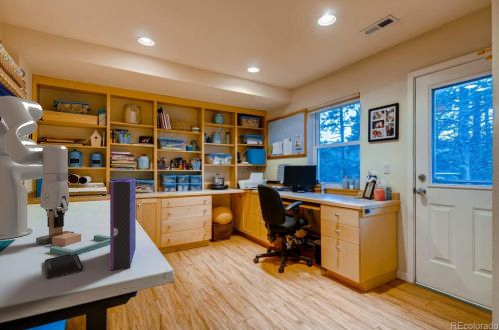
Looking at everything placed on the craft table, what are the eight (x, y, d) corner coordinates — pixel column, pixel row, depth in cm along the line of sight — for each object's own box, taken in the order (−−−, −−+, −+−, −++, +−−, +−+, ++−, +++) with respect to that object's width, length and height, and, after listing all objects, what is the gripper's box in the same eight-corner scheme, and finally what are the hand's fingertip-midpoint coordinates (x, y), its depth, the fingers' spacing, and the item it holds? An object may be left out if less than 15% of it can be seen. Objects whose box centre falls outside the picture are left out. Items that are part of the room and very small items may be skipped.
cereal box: (120, 249, 81) (119, 178, 81) (135, 247, 83) (135, 178, 83) (110, 270, 65) (110, 181, 65) (129, 268, 67) (129, 181, 67)
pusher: (44, 243, 85) (43, 213, 85) (36, 242, 87) (35, 212, 87) (74, 236, 94) (73, 209, 94) (66, 234, 96) (66, 208, 96)
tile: (52, 245, 86) (52, 237, 86) (68, 240, 92) (68, 232, 92) (65, 247, 84) (65, 238, 84) (81, 241, 90) (81, 233, 90)
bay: (49, 252, 79) (49, 247, 79) (97, 238, 93) (97, 234, 93) (71, 257, 74) (71, 252, 74) (117, 241, 89) (117, 237, 89)
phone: (76, 252, 76) (83, 268, 65) (77, 256, 76) (83, 272, 65) (44, 259, 71) (45, 277, 60) (44, 263, 71) (45, 281, 60)
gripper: (31, 178, 91) (31, 227, 91) (57, 178, 84) (57, 231, 84) (53, 177, 97) (54, 222, 97) (79, 177, 91) (80, 226, 91)
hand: (55, 226), depth 91 cm, fingers closed on pusher, 3 cm apart
